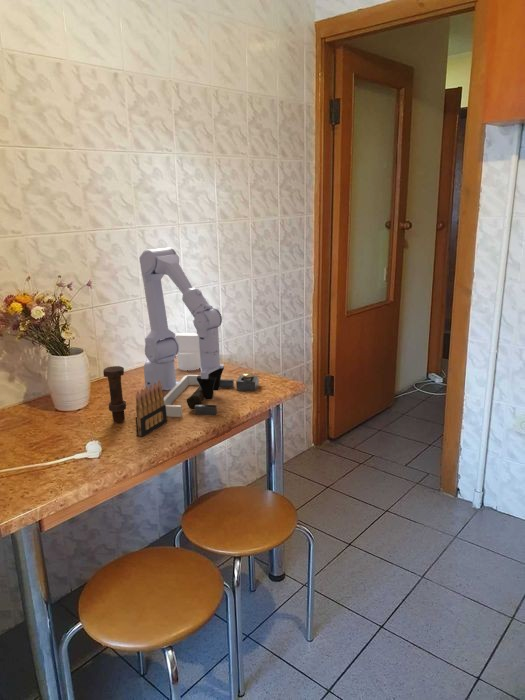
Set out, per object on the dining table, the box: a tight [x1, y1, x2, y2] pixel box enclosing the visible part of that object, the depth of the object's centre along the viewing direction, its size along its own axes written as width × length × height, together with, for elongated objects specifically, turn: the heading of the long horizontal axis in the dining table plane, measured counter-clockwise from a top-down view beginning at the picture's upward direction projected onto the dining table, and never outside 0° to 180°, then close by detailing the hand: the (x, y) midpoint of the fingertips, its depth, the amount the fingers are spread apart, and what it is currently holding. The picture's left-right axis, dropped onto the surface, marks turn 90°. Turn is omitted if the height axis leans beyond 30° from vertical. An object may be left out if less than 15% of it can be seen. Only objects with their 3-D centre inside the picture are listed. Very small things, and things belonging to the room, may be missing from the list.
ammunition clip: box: [135, 381, 168, 438], centre depth 139 cm, size 11×2×12 cm, turn 154°
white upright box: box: [175, 332, 201, 371], centre depth 192 cm, size 9×9×12 cm
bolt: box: [102, 365, 127, 424], centre depth 144 cm, size 6×5×15 cm
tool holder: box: [194, 374, 260, 416], centre depth 160 cm, size 14×27×3 cm, turn 171°
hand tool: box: [186, 385, 205, 411], centre depth 160 cm, size 19×4×5 cm, turn 169°
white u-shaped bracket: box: [164, 374, 201, 418], centre depth 161 cm, size 7×28×3 cm, turn 171°
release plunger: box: [241, 371, 254, 381], centre depth 169 cm, size 4×4×4 cm
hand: (212, 394), depth 160 cm, fingers open, 7 cm apart
